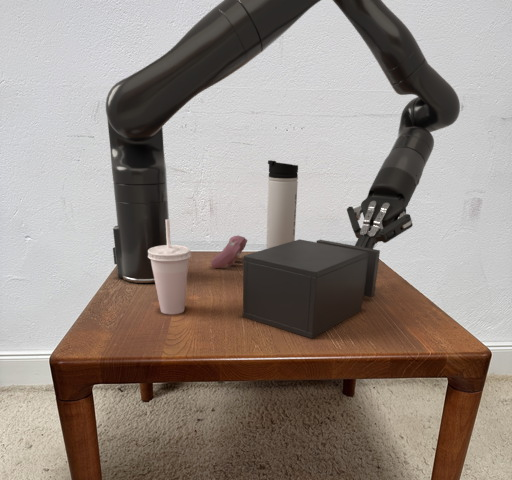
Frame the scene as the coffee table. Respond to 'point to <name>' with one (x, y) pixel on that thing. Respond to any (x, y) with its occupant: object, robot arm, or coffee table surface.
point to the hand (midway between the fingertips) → (359, 256)
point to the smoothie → (170, 274)
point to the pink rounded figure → (230, 252)
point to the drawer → (370, 266)
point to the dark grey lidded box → (303, 286)
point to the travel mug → (281, 203)
